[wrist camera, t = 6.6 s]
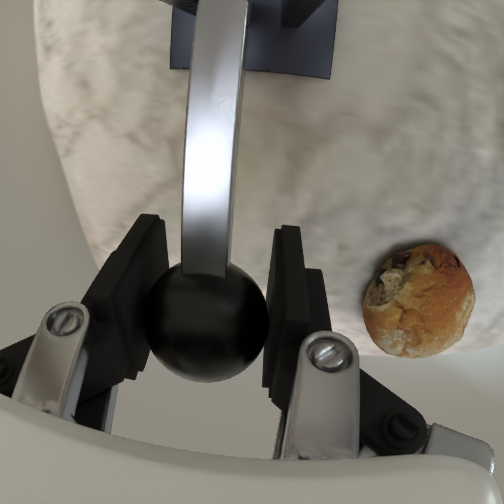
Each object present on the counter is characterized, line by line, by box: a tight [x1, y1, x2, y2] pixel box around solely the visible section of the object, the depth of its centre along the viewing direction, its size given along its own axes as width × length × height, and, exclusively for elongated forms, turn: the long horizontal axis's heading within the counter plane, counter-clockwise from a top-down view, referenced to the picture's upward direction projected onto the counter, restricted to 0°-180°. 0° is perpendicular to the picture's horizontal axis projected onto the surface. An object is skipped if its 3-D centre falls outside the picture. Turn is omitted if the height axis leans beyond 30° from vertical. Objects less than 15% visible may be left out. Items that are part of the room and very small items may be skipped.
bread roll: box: [362, 245, 475, 358], centre depth 23 cm, size 10×10×8 cm
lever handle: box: [143, 0, 269, 383], centre depth 7 cm, size 14×3×3 cm, turn 176°
